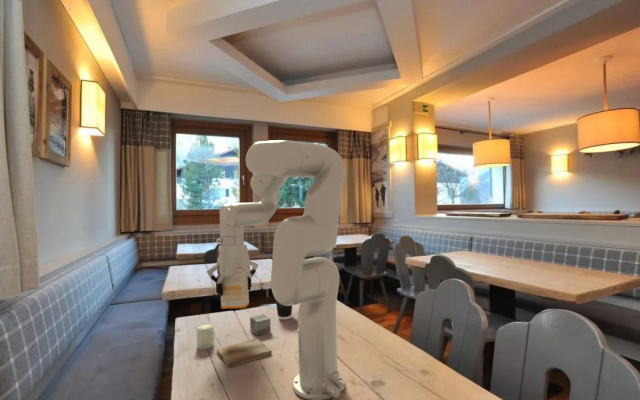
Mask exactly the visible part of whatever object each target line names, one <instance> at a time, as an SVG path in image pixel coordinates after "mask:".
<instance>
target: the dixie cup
mask: <svg viewBox="0 0 640 400" xmlns="http://www.w3.org/2000/svg"><path fill="white" fill-rule="evenodd" d="M275 303H276V304H275V305H276V313H277V316H278V319H279V320H289V319H291V317H292V312H293V305H291V306H285V305H282V304H280V303H278V302H277V300H276V299H275Z"/></svg>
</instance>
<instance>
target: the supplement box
mask: <svg viewBox="0 0 640 400" xmlns="http://www.w3.org/2000/svg"><path fill="white" fill-rule="evenodd" d="M219 274H220V272H219ZM221 283H222V288H223V295H222V296H220V309H223V310H224V309H245V308H246V307H247V306H249V304H250V298H249V297H250V296H249V295H250V293H249V290H248V276H247V274H246V273H245V267H242V268H237V269H235V275H234V276H231V277H224V278H223V280H222V281H221Z"/></svg>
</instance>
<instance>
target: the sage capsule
mask: <svg viewBox="0 0 640 400" xmlns="http://www.w3.org/2000/svg"><path fill="white" fill-rule="evenodd" d="M214 342H215V341H214V325H213V324H202V325H199V326H198V327H197V328H196V348H197V349H198V350H199V351H204V350H205V351H206V350H209V349H212V348H213V347H214V344H215V343H214Z"/></svg>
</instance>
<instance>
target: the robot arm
mask: <svg viewBox="0 0 640 400" xmlns="http://www.w3.org/2000/svg"><path fill="white" fill-rule="evenodd" d="M245 165H246V168H247V169H248V171H249V172H250V173H251V174H253V175H252V177H251V179H250V182H249V183H250V188H251V189H252V191H253V192H254V194H255V195H257V196H258V197H260V198H261V200H259V202H257V201H255V202H234V203H229V204H223V205H221V206H220V207H219V231H220V234H219V235H220V236H219V238H216V244H219V246H218V250H217V260H216V264H215V265H213V266H212V267H211V268H209V269H208V270H206V274H207V275H208V278H209V279H210V280H212V281H213V283H215V291H216V294H217V296H219V297H221V296H222V295H223V288H222V283H221V281H222V280H223V278H224V277H231V276H234V275H235V269H237V268H242V267H245V273H246V274H247V276H248V291H251V289H252V278H253V276H254V275H255V274H256V273H257V269H258V266H259V264H258V263H256V262H253V261H251V260H250V253H249V249H248V245H247V243H245V236H244V227H250V226H261V225H264V224H265V223H267V222H268V221H269V220H270V219H271V218H272V217H273V215H275V213H276V211H277V210H278V206H279V205H278V204H279V198H278V197H279V196H278V192H279V191H280V189H282V187H283V186H284V184H285V183H286V182H287V181H288V179H289V178H307V179H308V178H309V179H310V178H311V179H314V181H313V182H311V184H310V186H309V188H308V189H307V191H306V195H305V198H304V199H305V200H304V207H303V208H304V210H303V214H302V215H297V216H289V217H287V218H284V219H283V220H282V221H280V222H279V224H278V226H277V227H276V229H275V231H274V232H275V233H274V235H273V244H272V246H273V247H272V259H271V260H272V263H271V277H270V279H271V280H270V283H271V291H272V295H273V297H274V299H275V301H276V300H277V302H278V303H280V304H282V305H285V306H291V305H292V306H295V305H298V304H299V307H298V311H297V312H298V313H297V339H298V340H297V341H298V374H297V375H296V376H295V377H294V378H293V381H292V389H293V390H294V392H295V394H296V395H298V396H299V397H301V398H302V399H303V398H304V399H306V400H329V399H331V398H332V399H333V398H335V399H336V398H339V397H340V395H341V392H342V391H343V390H345V388H346V387H345V386H346V385H345V381H344V377H343V376H342V375H341V374H340V371H339V370H338V343H337V342H338V341H337V340H338V339H337V338H338V336H337V333H338V332H337V300H338V292H339V287H340V272H339V269H338V267H337V265H336V263H335V262H334V261H333V260H331V259H330V258H327V257H324V256H323V257H321V256H318V255H323V254H326V253H329V252H331V251H332V250H333V249H334V248H335V246H336V245H337V238H338V232H339V230H338V229H339V221H340V220H339V219H340V209H341V197H342V191H343V187H344V181H345V177H346V175H345V174H346V170H345V164H344V160H343V158H342V157H341V155H340V154H339V153H338V152H337V151H336V150H335V149H333V148H331V147H329V146H326V145H323V144H317V143H311V142H302V141H295V140H285V139H284V140H283V139H282V140H281V139H279V140H278V139H277V140H267V141H266V140H265V141H264V140H263V141H262V140H261V141H257V142H254V143H253V144H252V145H251V146H249V148H248V150H247V152H246V156H245ZM312 256H317V257H312ZM308 257H310V258H308ZM311 257H312V258H311ZM251 266H252V267H251ZM215 272H216V274H217V276H215V275H214V273H215ZM219 272H220V274H219Z"/></svg>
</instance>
